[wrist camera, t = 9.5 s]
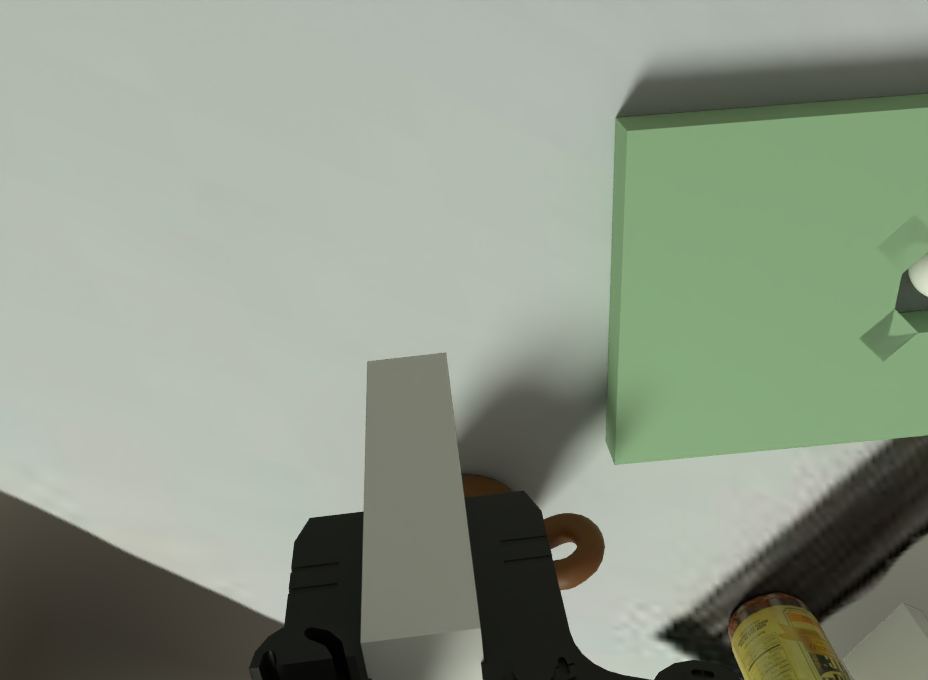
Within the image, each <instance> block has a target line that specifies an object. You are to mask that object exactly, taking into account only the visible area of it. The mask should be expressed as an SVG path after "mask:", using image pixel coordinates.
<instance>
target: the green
mask: <svg viewBox="0 0 928 680" xmlns="http://www.w3.org/2000/svg"><path fill="white" fill-rule="evenodd" d="M927 252H928V94H915V95H902V96H889V97H876V98H863V99H850V100H838V101H825V102H812V103H799V104H786V105H773V106H760V107H747V108H735V109H722V110H709V111H696V112H683V113H670V114H657V115H644V116H631V117H619V118H616V123H615V156H614V188H613V220H612V252H611V284H610V316H609V348H608V381H607V413H606V443H607V446H608V449H609V451H610V454H611V457H612V459H613V462H614V465H618V464H629V463H639V462H650V461H660V460H671V459H682V458H692V457H703V456H713V455H724V454H735V453H745V452H756V451H766V450H777V449H788V448H798V447H809V446H819V445H830V444H841V443H851V442H862V441H872V440H883V439H893V438H904V437H915V436H925V435H928V310H927V311H916V312H904V313H898V312H897V311H896V310H895V304H896V300H897V295H898V291H899V286H900V281H901V277H902V274H903V273H904V272H905V271H906V270H907V269H908V268H910V267H911V266H912V265H913V264H914V263H916V262H917V261H918V260H919V259H920V258H921V257H923V256H924V255H925V254H926V253H927Z"/></svg>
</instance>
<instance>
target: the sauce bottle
mask: <svg viewBox="0 0 928 680" xmlns="http://www.w3.org/2000/svg"><path fill="white" fill-rule="evenodd" d="M728 632H729V637H730V641H731V643H732V650H733V653H734V655H735V658H736V660H737V662H738V665H739V667H740V669H741V672H742V674H743V677H744V679H745V680H850V678H849V676H848V674H847V672H846V671H845V669H844V667H843V666H842V664H841V662H840V660H839V659H838V657H837V655H836V653H835V651H834V649H833V648H832V646H831V644H830V642H829V641H828V639H827V637H826V635H825V633H824V632H823V630H822V628H821V626H820V625H819V623H818V621H817V619H816V618H815V617H814V616H813V614H812V613H811V612H810V610H809V609H808V607H807V606H806V605H805V604H804V603H803V602H801V601H800V600H799V599H797V598H795V597H793V596H789V595H788V594H785V593H781V592H777V593H775V592H773V593H771V594H768V595H762V596H758V597H755V598H753V599H752V600H749V601H747V602H746V603H744V604H743V605H741V606H740V607H739V608H738V610H736V611H735V612H734V614H733V615H732V617H731V618H730V620H729V627H728Z"/></svg>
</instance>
